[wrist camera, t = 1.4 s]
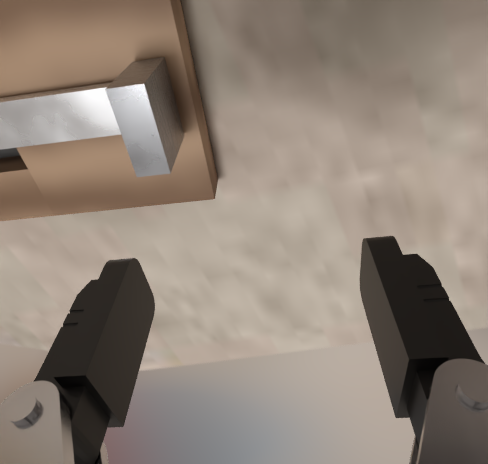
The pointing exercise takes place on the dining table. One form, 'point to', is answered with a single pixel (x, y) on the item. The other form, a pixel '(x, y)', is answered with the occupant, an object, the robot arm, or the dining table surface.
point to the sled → (104, 116)
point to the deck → (91, 73)
